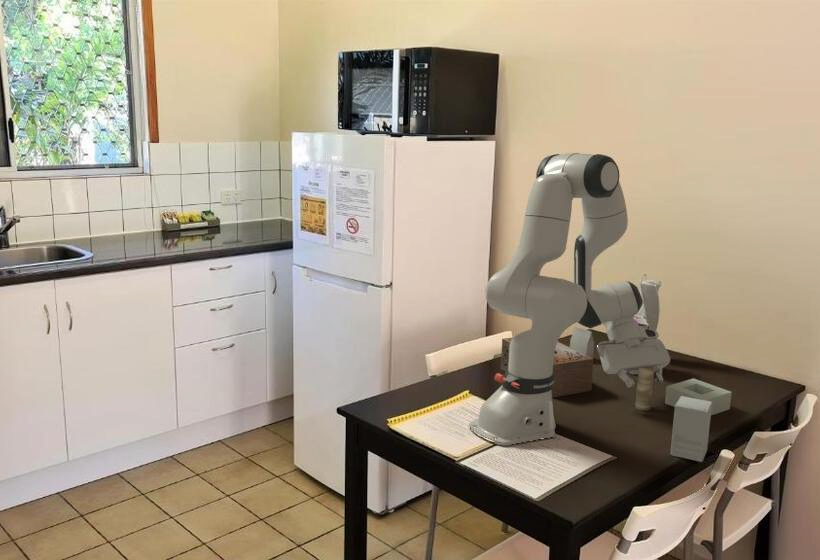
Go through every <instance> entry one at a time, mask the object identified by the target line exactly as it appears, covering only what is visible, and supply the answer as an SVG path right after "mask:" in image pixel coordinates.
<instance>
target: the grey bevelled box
mask: <svg viewBox="0 0 820 560" xmlns="http://www.w3.org/2000/svg"><path fill="white" fill-rule="evenodd" d="M569 341H570V342H569V347H570V348H572V349H574V350H577V351H579V352H581V353H583V354H585V355H587V356H589V357H591V358H593V359H594V349H595V341H594V336H593V331H592V330H587V329H584V328H581V327H578V326H574V328H573V332H572V335H571V338H570V339H569Z"/></svg>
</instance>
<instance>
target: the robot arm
mask: <svg viewBox="0 0 820 560" xmlns="http://www.w3.org/2000/svg"><path fill="white" fill-rule="evenodd" d="M619 169H620V168H619V166H618V164H617V163H616V161H615V160H614V158H612V157H611V156H608V155H607V154H606V155H605V154H600V153H597V154H596V153H595V154H592V153H591V154H590V153H580V152H568V153H561V154H560V153H556V154H552V155H551V154H550V155H547V156H546V157H544V158H543V159H542V160H541V162H540V163H539V165H537V169H536V173H535V179H534V182H533V184H532V187H531V189H530V192H529V196H528V200H527V203H526V208H525V213H524V218H523V219H524V220H523V225H522V231H521V234H520V239H519V240H520V241H519V242H518V243H519V244H518V246H517V248H516V252H515V253H514V256H513V257H512V258H511V260H510V261H509V262H508V263H507V264H506V266H504V267H503V268H502V269H500V270H499V271H497V272H495V273H494V274H493V275H492V276H491V277H490V278H489V280H488V281H487V283H486V287H485V294H484V295H485V298H486V299H485V300H486V302H487V305H488V306H489V307H490V308H491V309H493V310H495V311H497V312H499V313H502V314H505V315H507V316H513V317H518V318H523V319H529V320H531V328H530V329H527V330H525V331H522V332H520V333H517V334H516V335H515V336H514V338H513V339H512V341H511V343H510V348H509V366H508V369H507V371H505V374H501V373H499V372H497V373H496V374H495V375H494V376H493V377H494V381H496V382H499V383H500V384H501V386H499V388H497V389H496V390H495V392H494V393H493V394H492V395H490V397H488V399H486V400H485V401H484V402H483V403H482V404H481V406H480V410H479V413H478V414H479V415H478V418H476V419H474V420H472V421H470V422H469V424H468V427H469V426H470V428H471V429H472V430H473V431H475V432H476V433H478V434H480V435H481V436H483V437H485V438H488V439H490V440H493V441H494V442H495V445H499V446H502V447H503V446H505V447H507V446H512V444H513V445H517V444H516V443H519V444H522V443H521V442H524V443H527V442H526V441H530V442H532V441H531V440H536V439H541V438H548V439H550V438H549V437H553V438H555V437H556V431H555V429H556V427H557V425H556V421H555V418H554V417H555V416H554V407H553V406H554V404H553V397H552V389H553V387H554V373H553V362H554V354H555V348H556V344H557V342H559V340H560V337H561V335H563V333H564V332H565V331H566V330H567V329H568V328H570V327H571V326H572V325H574V324H577V323H578V324H579V325H581V326H583V327H585V328H588V329H592V328H593V329H594V328H596V327H598V326H601V325H602V324H603V326H604V327H605V329H606V330H605V331H606V335H607V337H608V340H607V341H605V340H604V341H603V340H602V341H600V342H599V343H598V344H597V346H596V350H597V352H598V354H599V358H600V362H601V366H602V369H603V371H604V373H606V374H607V375H614V374H617V376H618V377H619V378H620V379H621V380H622V381H623V382H624V383H625V385H626V388H631V387H633V386H635V385H636V383H635V381H634V379H633V378H630V376H629V375H628V374H627V373H629V372H631V371H639V368H640V367H648V368H652V369H654V373H655V377H654V378H653V381H654V382H655V384H661V383H663V382H664V377H663V368H665V367H667V366H669V364H670V363H671V356H670V353H669V352H668V350H667V348H666V346H665V344H664V343H663V342H662V340H661V339H659V336H660V335H659V332H658V331H657V330H656V331H655V330H651V329H647V328H643V327H640V326H638V324H637V322H636V321H635V320H634V315H636V314H637V313H638V311H639V310H640V308H641V306H642V304H643V300H642V297H641V295H640V290H639V287H638V286H637V285H635V284H634V283H632V282H631V281H628V280H626V281H625V280H624V281H619V282H616V283H607V284H605V285H602V286H600V287H598V288H594V289H592V277H593V276H592V273H593V272H592V267H593V264H594V262H595V260H596V259H597V258H598V257H599V256H600V255H601V254H602V253H604V251H606V250H607V249H609V248H610V247H612V246H613V245H615V244H617V243H618V242H619V241H620V240H621V238H622V237H624V234H625V233H626V231H627V229H628V225H629V224H628V223H629V220H628V219H629V218H628V210H627V204H626V200H625V195H624V192H623V189H622V185H621V182H620V170H619ZM574 199H581V207H582V208H581V209H582V215H583V226H582V229H581V232H580V234H579V235H578V236H577V237H576V239H575V242H574V249H573V251H574V252H573V281H570V280H567V279H564V278H557V277H552V276H546V275H540V274H541V271H542V269H543V267H544V266H545V265H546V264H547V263H550V262H553V261H555V260H558V259H559V258H561V257H562V255H563V254H564V253H565V252H566V249H567V244H568V236H569V231H570V224H571V219H572V218H571V217H572V208H573V200H574ZM474 427H476V428H474ZM470 428H469V429H470ZM495 438H496V439H497V440H495ZM536 441H537V440H536Z"/></svg>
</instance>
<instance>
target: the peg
mask: <svg viewBox="0 0 820 560" xmlns="http://www.w3.org/2000/svg"><path fill="white" fill-rule="evenodd" d="M654 376H655V372H654V369H652V368H648V367H640V368H639V371H638V375H637V384H636V393H635V394H636V395H635V404H634V407H635V409H637V410H639V411H643V412H644V411H646V412H647V411H650V410H651V408H652V406H651V405H652V396H653V386H654Z"/></svg>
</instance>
